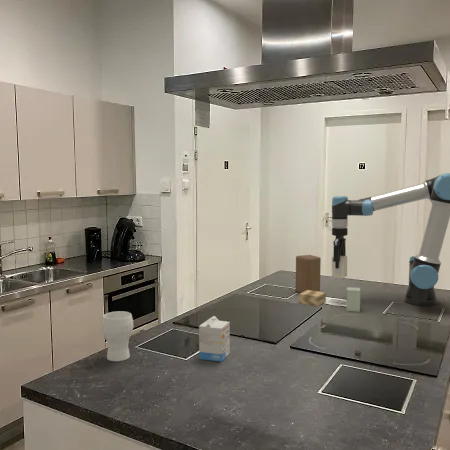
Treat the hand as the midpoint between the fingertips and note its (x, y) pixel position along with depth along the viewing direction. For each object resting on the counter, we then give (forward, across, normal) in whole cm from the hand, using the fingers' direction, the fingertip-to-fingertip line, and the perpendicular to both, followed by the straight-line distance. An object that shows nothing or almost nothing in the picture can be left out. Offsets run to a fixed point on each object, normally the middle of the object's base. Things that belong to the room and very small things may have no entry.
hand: (339, 273), depth 231 cm
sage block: (+15, +10, +9) cm, 20 cm away
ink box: (+14, +92, -18) cm, 95 cm away
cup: (+14, +110, -46) cm, 120 cm away
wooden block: (+14, -11, -21) cm, 27 cm away
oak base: (+15, +7, -12) cm, 20 cm away
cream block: (+1, 0, 0) cm, 1 cm away
